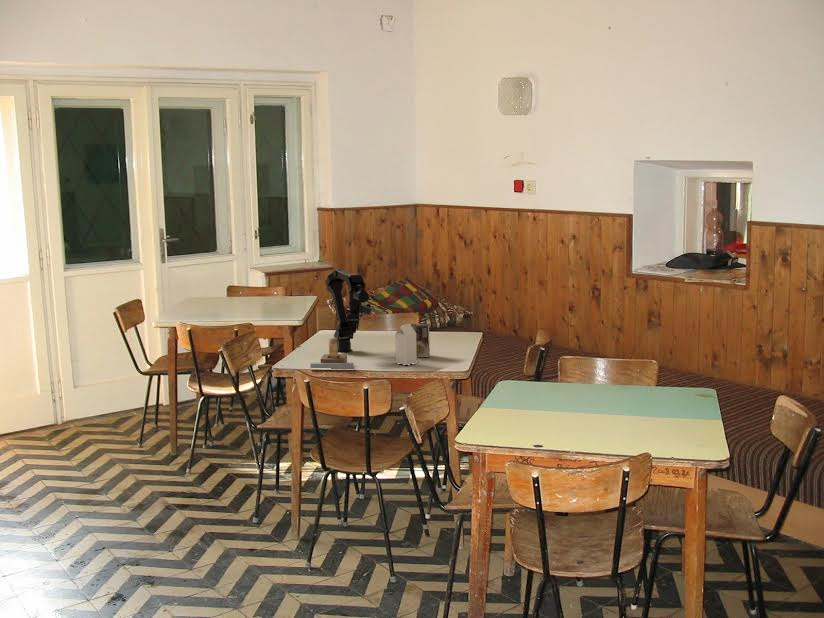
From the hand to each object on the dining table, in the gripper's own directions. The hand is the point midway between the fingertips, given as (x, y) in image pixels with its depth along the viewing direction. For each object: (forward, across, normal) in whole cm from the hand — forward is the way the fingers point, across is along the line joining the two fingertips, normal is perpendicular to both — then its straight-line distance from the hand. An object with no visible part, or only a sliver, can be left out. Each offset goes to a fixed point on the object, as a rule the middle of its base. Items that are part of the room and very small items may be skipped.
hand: (355, 331), depth 471 cm
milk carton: (+13, -15, -26) cm, 33 cm away
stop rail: (+13, -29, +8) cm, 33 cm away
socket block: (+13, -22, +8) cm, 27 cm away
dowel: (+12, -23, +8) cm, 27 cm away
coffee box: (+13, 0, -32) cm, 34 cm away
